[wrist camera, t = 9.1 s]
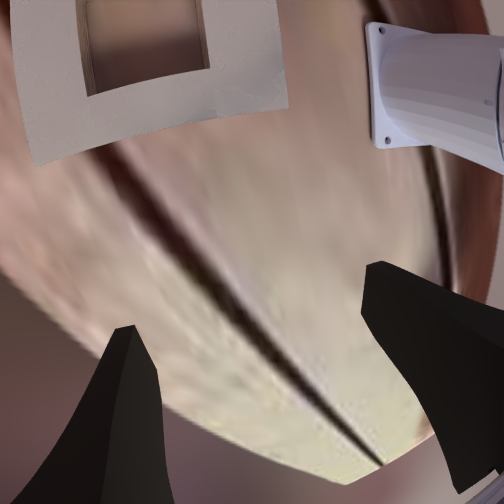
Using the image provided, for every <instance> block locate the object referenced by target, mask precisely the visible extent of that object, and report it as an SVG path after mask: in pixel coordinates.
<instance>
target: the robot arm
mask: <svg viewBox="0 0 504 504" xmlns="http://www.w3.org/2000/svg"><path fill="white" fill-rule="evenodd" d="M379 28H380V29H381V31H382V33H380V32H379ZM365 32H366V41H367V51H368V62H369V76H370V92H371V116H372V143H373V145H374V146H375V147H377V148H380V149H383V148H394V147H406V146H420V145H432V146H435V147H438V148H440V149H443V150H446V151H448V152H451V153H453V154H456V155H459V156H461V157H464V158H466V159H468V160H471V161H473V162H476V163H478V164H480V165H483V166H485V167H487V168H489V169H492V170H494V171H496V172H498V173H500V174H502V175H504V36H494V35H480V34H432V33H428V32H423V31H419V30H415V29H410V28H406V27H401V26H395V25H390V24H384V23H378V22H369V23H367V24H366V26H365ZM386 137H387V142H386V143H385V138H386ZM361 315H362V317H363V318H364V320H365V322H366V324H367V326H368V328H369V329H370V331H371V333H372V334H373V336H374V338H375V339H376V341H377V342H378V343H379V345H380V346H381V347H382V349H383V350H384V351H385V353H386V354H387V356H388V357H389V358H390V360H391V361H392V362H393V364H394V365H395V366H396V368H397V369H398V370H399V372H400V373H401V374H402V376H403V377H404V378H405V380H406V381H407V382H408V384H409V385H410V387H411V388H412V390H413V391H414V393H415V395H416V396H417V398H418V400H419V402H420V404H421V406H422V407H423V409H424V411H425V413H426V415H427V417H428V419H429V421H430V423H431V425H432V427H433V430H434V432H435V434H436V436H437V439H438V441H439V443H440V446H441V449H442V451H443V454H444V456H445V459H446V462H447V465H448V469H449V471H450V475H451V479H452V482H453V486H454V488H455V489H456V491H457V493H458V494H461V493H462V492H464V491H465V490H467V489H468V488H470V487H471V486H473V485H474V484H476V483H477V482H479V481H480V480H481V479H483V478H484V477H486V476H487V475H488V474H490V473H491V472H492V471H493V470H494V469H496V471H497V472H498V474H499V476H498V477H497V478H496V479H494V480H493V481H492V482H491V483H490V484H489V485H488V486H486V487H485V488H484V489H483V490H482V491H480V492H479V493H478V494H477V495H475V496H474V497H473V498H472V499H470V500H469V501H468V502H466V503H465V504H504V310H500V309H497V308H494V307H491V306H488V305H485V304H482V303H479V302H477V301H474V300H471V299H469V298H467V297H464V296H462V295H459V294H457V293H454V292H452V291H450V290H448V289H445V288H443V287H441V286H439V285H437V284H434V283H432V282H430V281H428V280H426V279H424V278H421V277H419V276H417V275H415V274H413V273H411V272H408V271H406V270H404V269H402V268H400V267H397V266H395V265H393V264H390V263H387V262H385V261H379V262H375V263H372V264H369V265H366V275H365V284H364V292H363V300H362V308H361ZM11 504H175V503H174V500H173V496H172V491H171V487H170V483H169V478H168V474H167V468H166V459H165V447H164V432H163V416H162V399H161V393H160V386H159V380H158V374H157V369H156V367H155V365H154V363H153V361H152V359H151V357H150V355H149V354H148V352H147V350H146V347H145V345H144V343H143V341H142V339H141V337H140V335H139V333H138V331H137V329H136V327H135V325H131V326H126V327H122V328H117V329H115V331H114V332H113V334H112V336H111V338H110V340H109V342H108V345H107V347H106V349H105V351H104V353H103V355H102V357H101V359H100V361H99V364H98V366H97V368H96V370H95V372H94V374H93V376H92V378H91V380H90V382H89V384H88V387H87V389H86V391H85V393H84V395H83V396H82V398H81V400H80V402H79V404H78V406H77V408H76V410H75V412H74V414H73V416H72V418H71V419H70V421H69V423H68V425H67V426H66V428H65V430H64V432H63V433H62V435H61V436H60V438H59V440H58V441H57V443H56V445H55V446H54V448H53V449H52V451H51V452H50V454H49V455H48V456H47V458H46V459H45V461H44V462H43V463H42V465H41V466H40V468H39V469H38V471H37V472H36V474H35V475H34V476H33V477H32V479H31V480H30V481H29V483H28V484H27V485H26V486H25V487H24V489H23V490H22V491H21V493H19V494H18V496H17V497H16V498H15V499H14V500H13V501H12V503H11Z"/></svg>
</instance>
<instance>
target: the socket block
mask: <svg viewBox="0 0 504 504" xmlns="http://www.w3.org/2000/svg"><path fill="white" fill-rule="evenodd" d="M89 1H92V0H10V18H11V37H12V50H13V59H14V68H15V76H16V83H17V89H18V95H19V101H20V106H21V112H22V117H23V121H24V126H25V130H26V135H27V139H28V143H29V147H30V151H31V155H32V159H33V162H34V166H35V168H36V167H39V166H41V165H44V164H47V163H49V162H52V161H55V160H58V159H61V158H63V157H66V156H69V155H72V154H75V153H78V152H81V151H84V150H87V149H91V148H94V147H97V146H100V145H104V144H107V143H111V142H114V141H118V140H121V139H125V138H129V137H132V136H136V135H140V134H144V133H148V132H152V131H157V130H161V129H165V128H170V127H174V126H179V125H184V124H189V123H194V122H199V121H204V120H210V119H215V118H221V117H227V116H234V115H240V114H247V113H254V112H262V111H270V110H279V109H289V106H288V95H287V86H286V76H285V67H284V59H283V50H282V42H281V34H280V26H279V19H278V11H277V4H276V0H195V5H196V13H197V20H198V28H199V35H200V43H201V50H202V57H203V64H204V69H203V70H197V71H191V72H185V73H180V74H174V75H169V76H165V77H160V78H155V79H151V80H147V81H142V82H138V83H134V84H130V85H127V86H123V87H119V88H116V89H112V90H109V91H105V92H102V93H99V94H97V90H96V84H95V78H94V71H93V65H92V58H91V51H90V43H89V35H88V26H87V15H86V4H85V2H89Z"/></svg>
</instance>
